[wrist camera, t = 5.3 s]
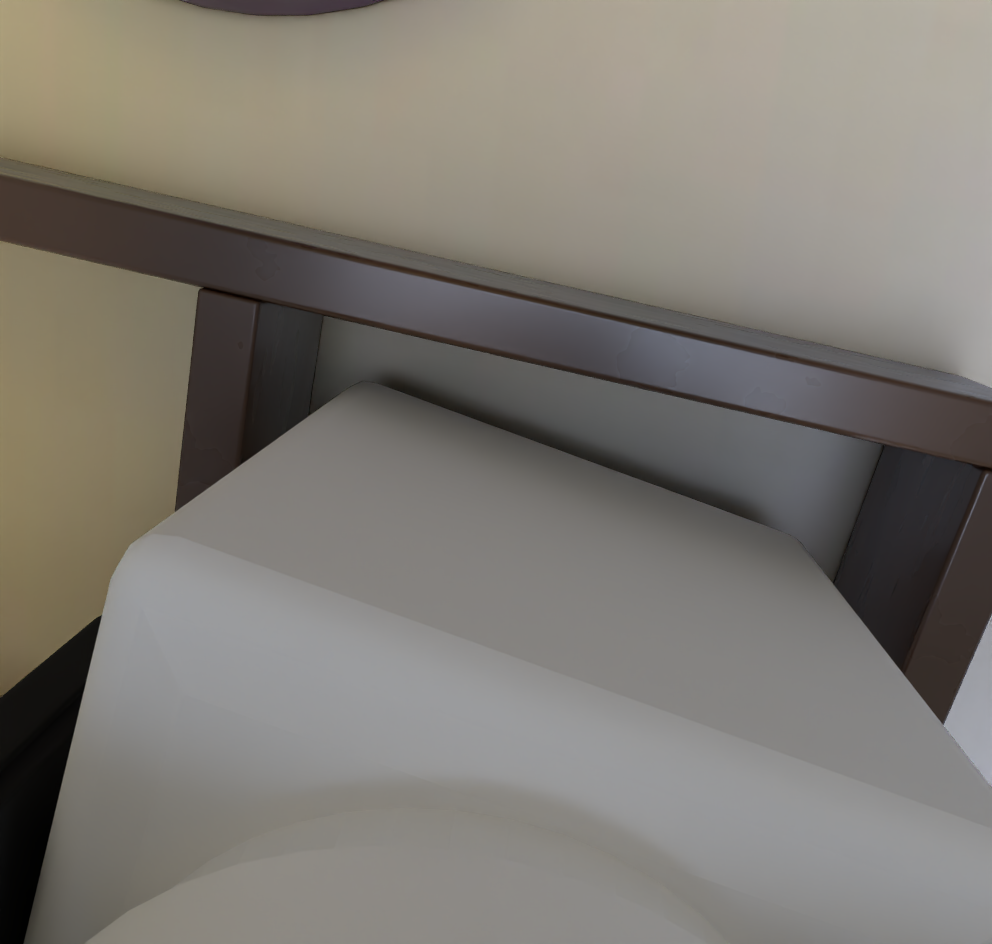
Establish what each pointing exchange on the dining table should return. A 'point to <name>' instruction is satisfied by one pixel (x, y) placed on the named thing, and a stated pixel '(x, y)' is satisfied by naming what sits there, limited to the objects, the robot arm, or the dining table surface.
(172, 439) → the dining table surface
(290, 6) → the lid
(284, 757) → the medicine bottle
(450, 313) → the frame
